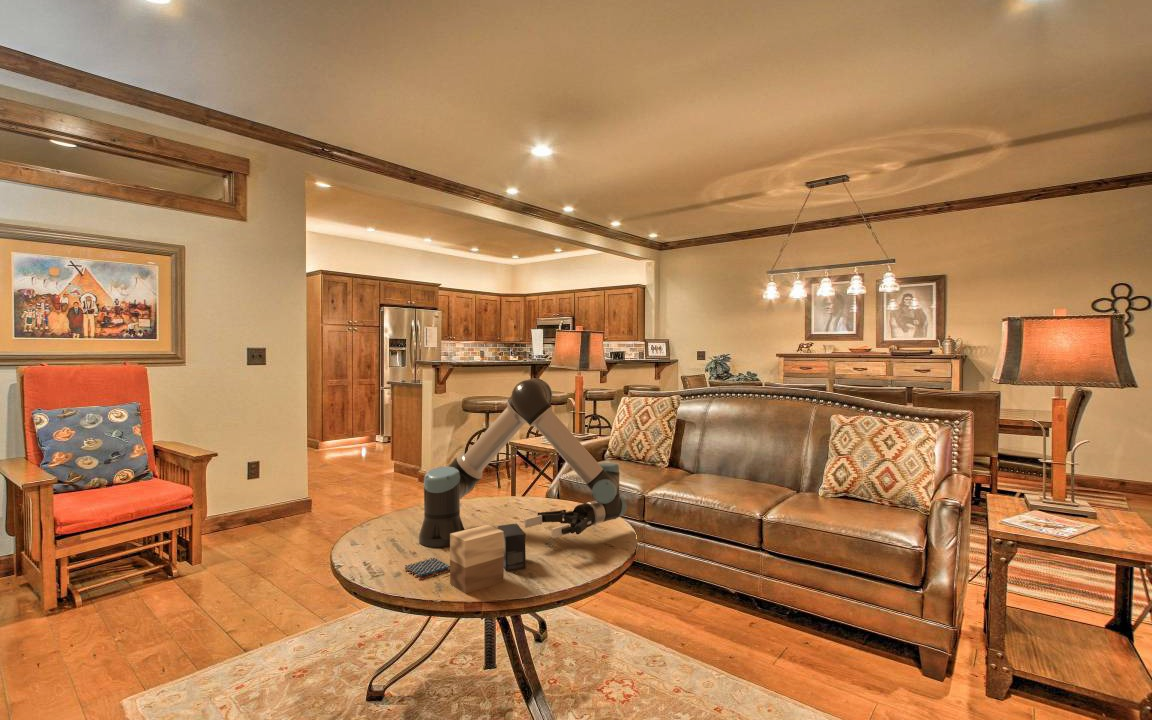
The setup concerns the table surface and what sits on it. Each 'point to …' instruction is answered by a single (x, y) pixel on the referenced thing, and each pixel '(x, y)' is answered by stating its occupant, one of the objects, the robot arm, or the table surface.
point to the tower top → (476, 545)
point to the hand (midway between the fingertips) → (538, 528)
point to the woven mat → (427, 568)
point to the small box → (513, 547)
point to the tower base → (476, 575)
